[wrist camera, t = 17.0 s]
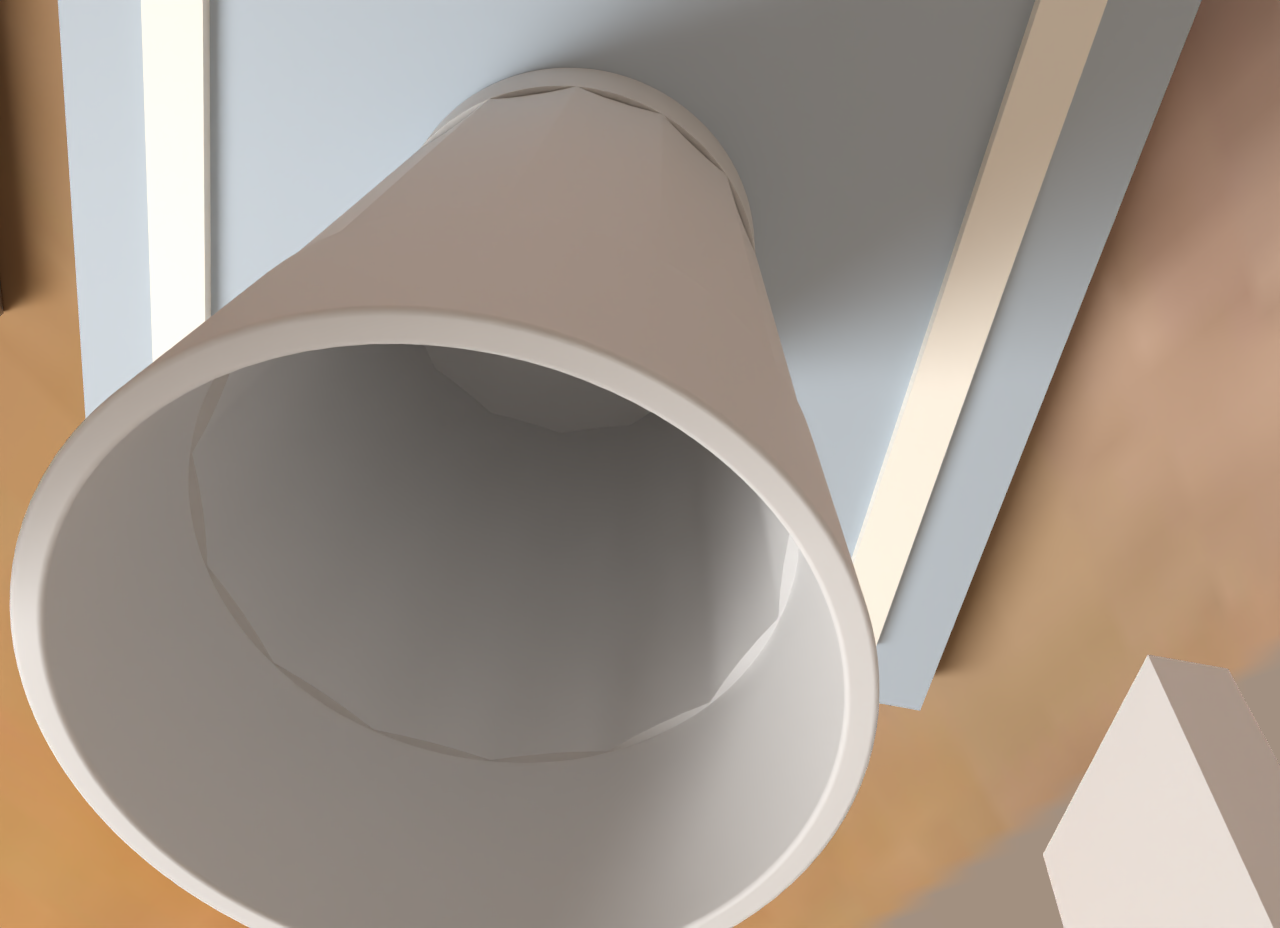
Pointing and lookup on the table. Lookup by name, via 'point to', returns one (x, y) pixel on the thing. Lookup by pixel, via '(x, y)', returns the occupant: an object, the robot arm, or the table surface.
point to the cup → (467, 555)
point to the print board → (765, 161)
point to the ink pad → (0, 304)
